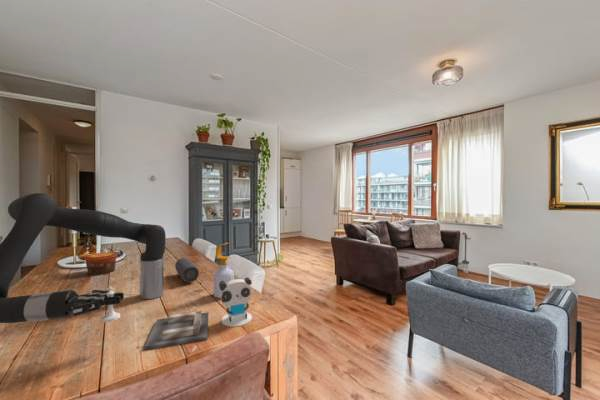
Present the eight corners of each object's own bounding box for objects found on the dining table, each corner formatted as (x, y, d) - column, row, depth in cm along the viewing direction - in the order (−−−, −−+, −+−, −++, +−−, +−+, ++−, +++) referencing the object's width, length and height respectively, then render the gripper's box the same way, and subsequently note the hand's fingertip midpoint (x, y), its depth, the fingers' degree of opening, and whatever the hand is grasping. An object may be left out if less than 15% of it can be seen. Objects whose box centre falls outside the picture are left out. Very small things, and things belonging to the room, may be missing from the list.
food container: (104, 276, 148) (104, 258, 148) (77, 276, 148) (76, 257, 148) (123, 268, 164) (123, 251, 164) (99, 268, 164) (98, 251, 164)
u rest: (144, 350, 78) (144, 340, 78) (157, 322, 96) (156, 314, 95) (207, 339, 84) (207, 330, 84) (208, 314, 101) (208, 307, 101)
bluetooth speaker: (200, 282, 138) (200, 264, 137) (181, 286, 132) (181, 267, 132) (191, 272, 156) (191, 255, 156) (174, 274, 151) (174, 257, 151)
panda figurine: (221, 329, 90) (221, 287, 90) (218, 315, 101) (217, 277, 100) (255, 322, 95) (255, 282, 95) (248, 310, 105) (248, 273, 105)
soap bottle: (228, 299, 116) (228, 245, 116) (210, 297, 118) (209, 244, 117) (237, 291, 125) (236, 241, 124) (219, 290, 127) (219, 240, 126)
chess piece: (107, 314, 81) (106, 283, 81) (124, 314, 82) (123, 283, 81) (96, 322, 76) (95, 289, 76) (114, 322, 77) (113, 289, 76)
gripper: (35, 302, 68) (113, 294, 73) (64, 284, 81) (128, 278, 86) (36, 330, 68) (113, 320, 73) (65, 307, 81) (129, 300, 87)
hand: (121, 297), depth 80 cm, fingers closed on chess piece
